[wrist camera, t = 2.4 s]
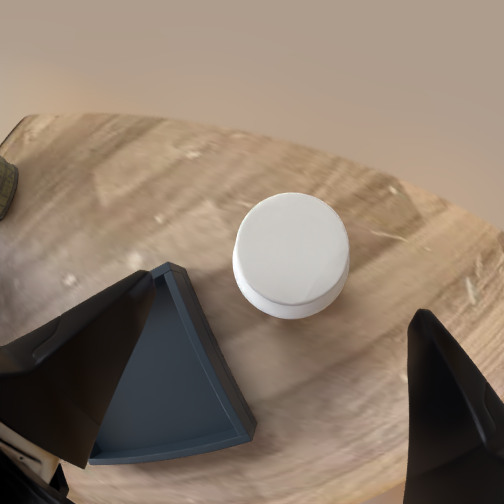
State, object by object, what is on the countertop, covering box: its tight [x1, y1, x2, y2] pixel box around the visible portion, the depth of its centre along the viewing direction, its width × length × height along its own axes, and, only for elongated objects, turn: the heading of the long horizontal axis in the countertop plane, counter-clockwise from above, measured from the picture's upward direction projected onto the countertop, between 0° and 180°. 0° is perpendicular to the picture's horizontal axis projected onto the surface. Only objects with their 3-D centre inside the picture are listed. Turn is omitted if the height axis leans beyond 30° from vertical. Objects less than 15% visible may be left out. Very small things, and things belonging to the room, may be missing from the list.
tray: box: [88, 262, 257, 465], centre depth 16 cm, size 12×15×3 cm
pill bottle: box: [233, 192, 350, 319], centre depth 13 cm, size 5×5×9 cm
